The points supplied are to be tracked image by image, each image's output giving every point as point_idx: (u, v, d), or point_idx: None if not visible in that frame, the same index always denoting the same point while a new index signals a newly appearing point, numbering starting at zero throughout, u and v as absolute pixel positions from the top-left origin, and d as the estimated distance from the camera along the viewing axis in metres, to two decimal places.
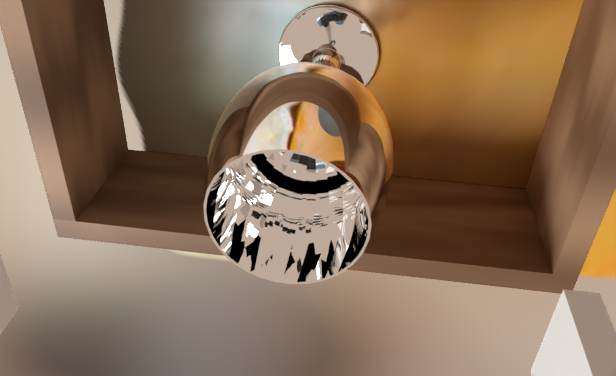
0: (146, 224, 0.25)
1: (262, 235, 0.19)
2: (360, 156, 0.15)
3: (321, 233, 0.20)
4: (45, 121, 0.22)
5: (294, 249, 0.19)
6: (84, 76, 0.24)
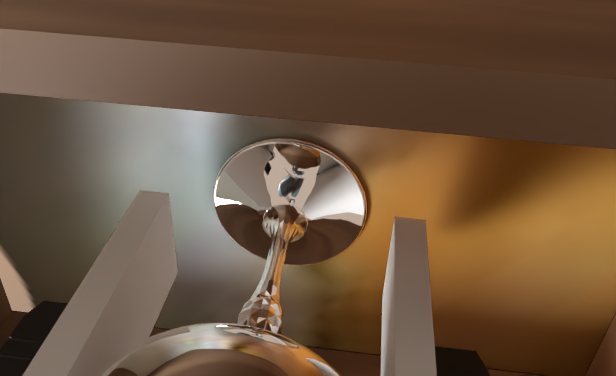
0: None
1: None
2: None
3: None
4: None
5: None
6: None
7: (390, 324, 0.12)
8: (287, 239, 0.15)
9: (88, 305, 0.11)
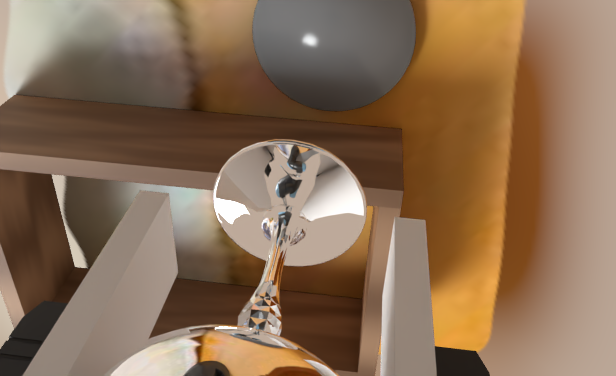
0: None
1: None
2: None
3: None
4: (6, 273, 0.33)
5: None
6: (36, 232, 0.35)
7: (390, 324, 0.12)
8: (287, 240, 0.15)
9: (88, 305, 0.11)
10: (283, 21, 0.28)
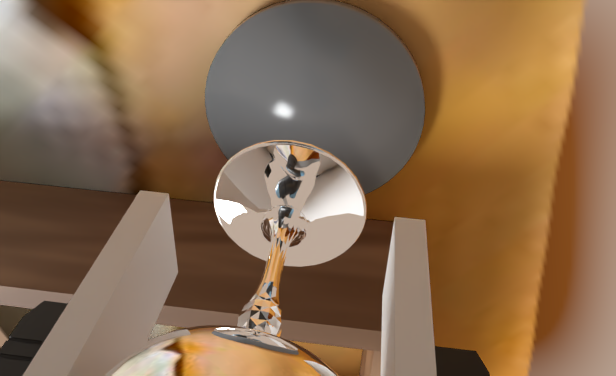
0: None
1: None
2: None
3: None
4: None
5: None
6: None
7: (390, 324, 0.12)
8: (287, 241, 0.15)
9: (88, 305, 0.11)
10: (245, 92, 0.21)
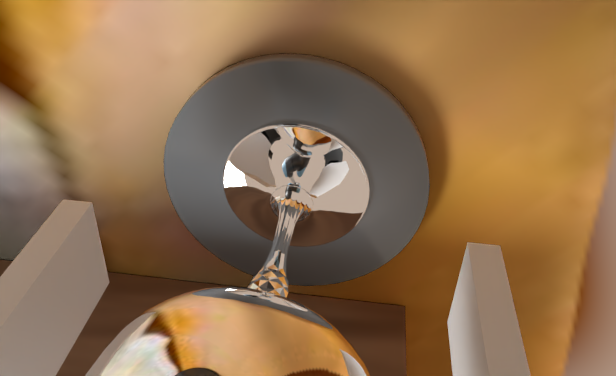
0: None
1: None
2: None
3: None
4: None
5: None
6: None
7: (475, 360, 0.12)
8: (293, 218, 0.16)
9: None
10: (212, 162, 0.17)
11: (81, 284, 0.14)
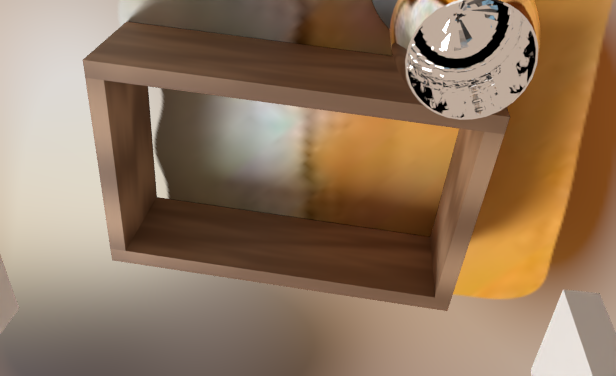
0: (173, 254, 0.38)
1: (423, 93, 0.24)
2: (531, 12, 0.20)
3: (466, 96, 0.25)
4: (114, 189, 0.35)
5: (450, 104, 0.24)
6: (136, 156, 0.37)
7: None
8: None
9: None
10: None
11: None
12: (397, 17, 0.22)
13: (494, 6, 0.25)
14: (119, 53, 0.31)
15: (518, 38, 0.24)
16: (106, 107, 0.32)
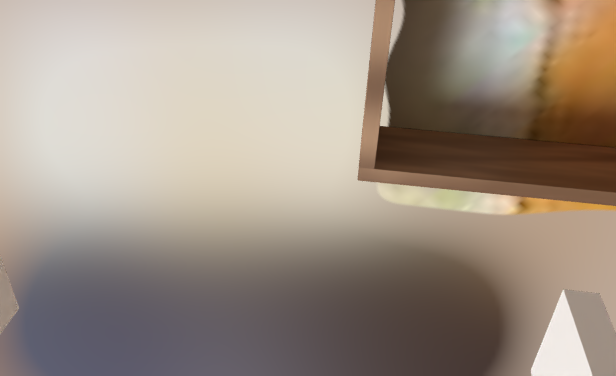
0: (420, 171, 0.38)
1: None
2: None
3: None
4: (378, 102, 0.35)
5: None
6: None
7: None
8: None
9: None
10: None
11: None
12: None
13: None
14: None
15: None
16: (392, 11, 0.32)
